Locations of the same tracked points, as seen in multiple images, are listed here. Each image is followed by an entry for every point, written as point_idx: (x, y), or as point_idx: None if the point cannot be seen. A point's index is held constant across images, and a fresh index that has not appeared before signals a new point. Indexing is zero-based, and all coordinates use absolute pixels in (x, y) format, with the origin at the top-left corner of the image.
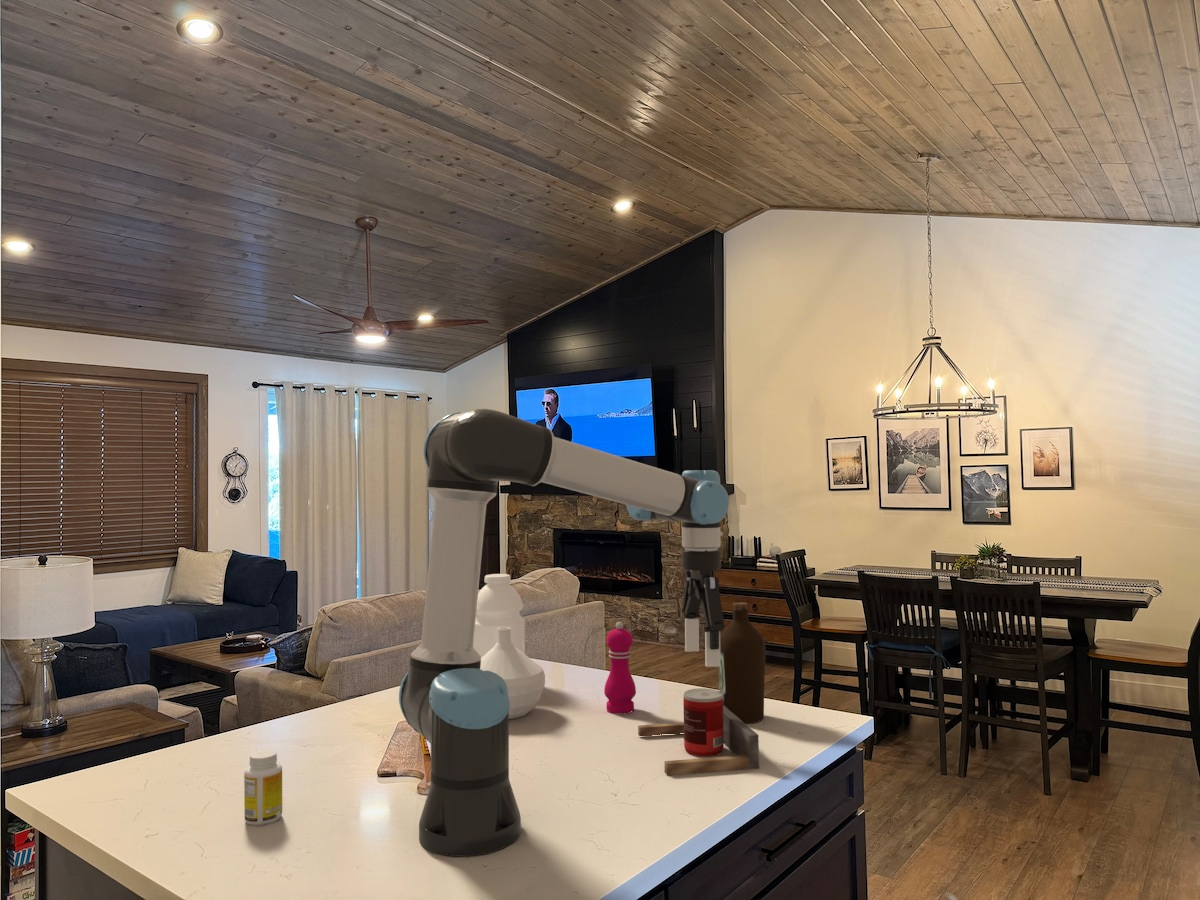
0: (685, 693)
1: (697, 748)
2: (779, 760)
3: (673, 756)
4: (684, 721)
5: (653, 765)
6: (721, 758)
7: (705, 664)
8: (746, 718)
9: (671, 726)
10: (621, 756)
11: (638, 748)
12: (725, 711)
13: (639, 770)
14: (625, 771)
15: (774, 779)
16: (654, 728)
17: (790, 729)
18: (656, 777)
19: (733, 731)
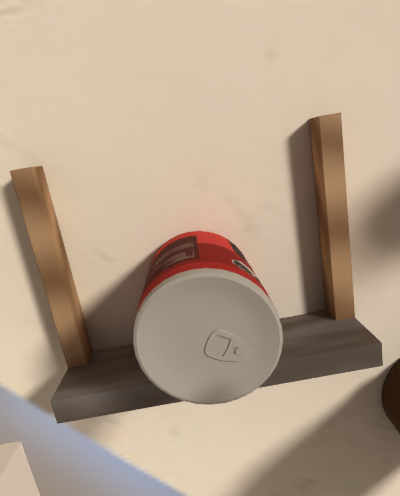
0: (214, 279)
1: (152, 261)
2: (130, 418)
3: (157, 198)
4: (190, 247)
5: (91, 141)
6: (59, 308)
7: (11, 449)
8: (387, 399)
9: (326, 211)
10: (158, 56)
11: (221, 109)
12: (273, 371)
13: (53, 101)
14: (43, 62)
15: (17, 391)
16: (321, 161)
17: (328, 469)
18: (6, 143)
19: None
